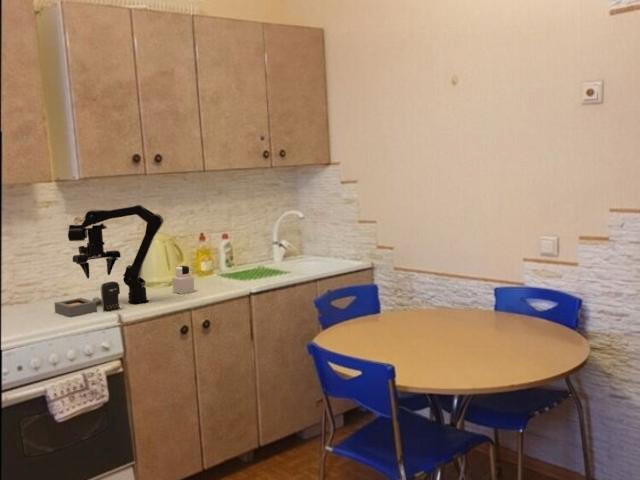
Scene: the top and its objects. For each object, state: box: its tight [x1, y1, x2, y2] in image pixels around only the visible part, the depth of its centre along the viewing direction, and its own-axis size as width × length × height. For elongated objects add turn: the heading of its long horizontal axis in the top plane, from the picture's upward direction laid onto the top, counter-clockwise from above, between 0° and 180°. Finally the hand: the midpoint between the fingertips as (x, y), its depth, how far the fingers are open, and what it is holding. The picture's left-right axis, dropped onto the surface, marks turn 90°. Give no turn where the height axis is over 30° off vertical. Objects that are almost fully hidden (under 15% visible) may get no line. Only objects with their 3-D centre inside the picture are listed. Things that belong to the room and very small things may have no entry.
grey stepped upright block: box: [171, 265, 195, 295], centre depth 279 cm, size 7×7×12 cm
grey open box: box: [53, 297, 98, 318], centre depth 246 cm, size 11×14×4 cm
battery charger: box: [100, 281, 121, 312], centre depth 247 cm, size 7×4×11 cm, turn 141°
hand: (98, 276), depth 258 cm, fingers open, 9 cm apart
